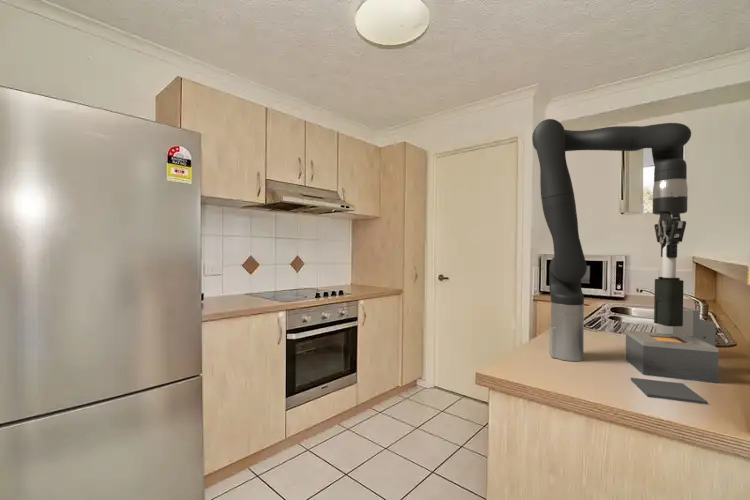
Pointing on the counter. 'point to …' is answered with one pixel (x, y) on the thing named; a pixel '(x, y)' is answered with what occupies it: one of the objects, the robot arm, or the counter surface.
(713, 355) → the box
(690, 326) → the circuit breaker
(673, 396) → the mat
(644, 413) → the counter surface
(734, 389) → the counter surface
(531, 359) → the counter surface
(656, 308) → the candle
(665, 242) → the robot arm
